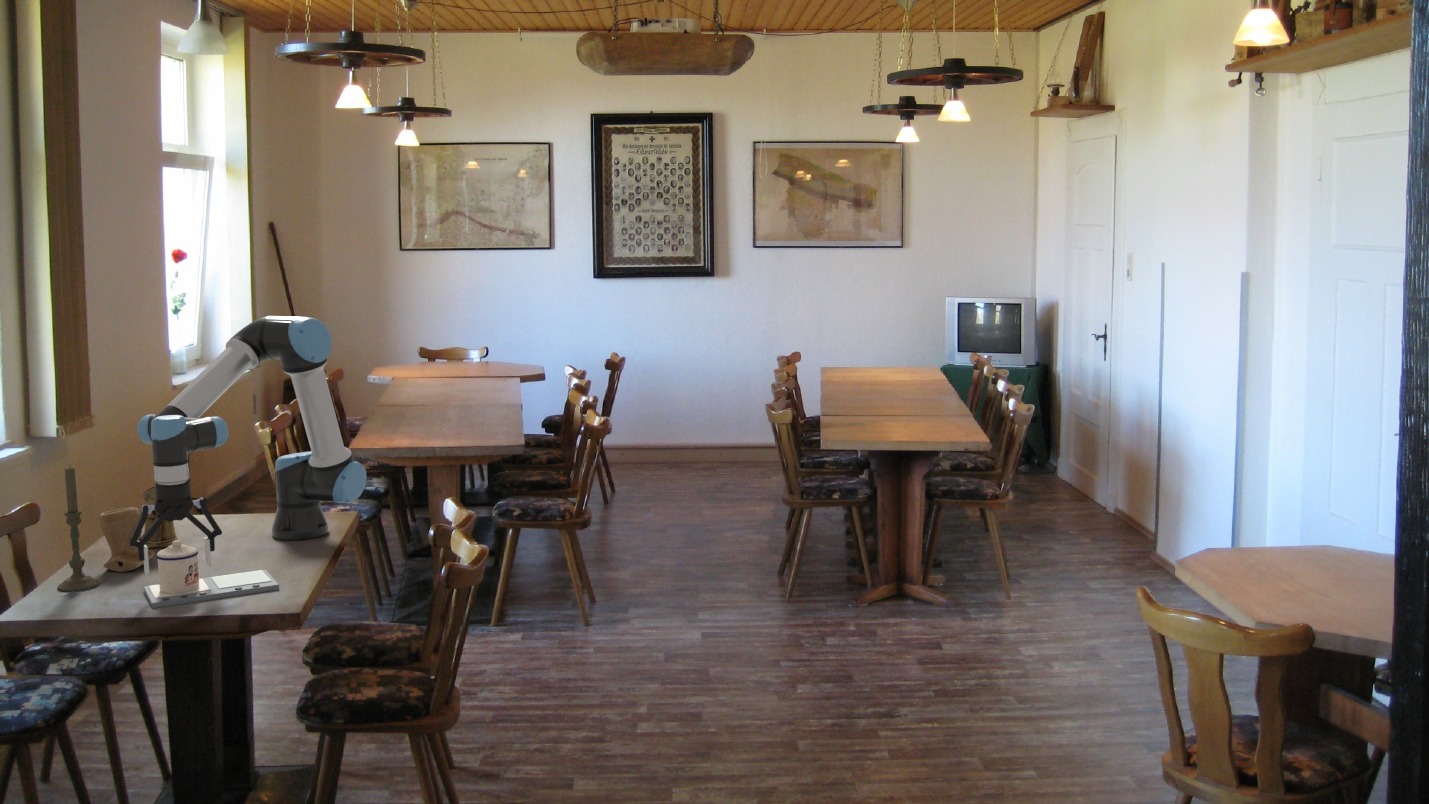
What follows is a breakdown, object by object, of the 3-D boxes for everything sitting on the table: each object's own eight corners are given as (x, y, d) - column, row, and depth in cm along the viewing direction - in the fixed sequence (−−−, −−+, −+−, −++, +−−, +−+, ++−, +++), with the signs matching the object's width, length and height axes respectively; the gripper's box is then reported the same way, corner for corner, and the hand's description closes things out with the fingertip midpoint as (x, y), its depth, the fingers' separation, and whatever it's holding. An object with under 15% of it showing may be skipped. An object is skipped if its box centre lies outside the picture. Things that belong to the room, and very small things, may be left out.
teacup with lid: (193, 594, 288) (189, 545, 286) (152, 595, 287) (149, 546, 286) (209, 579, 300) (206, 532, 298) (170, 580, 299) (167, 533, 297)
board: (265, 574, 309) (265, 568, 309) (279, 589, 297) (278, 583, 296) (144, 591, 295) (143, 585, 295) (152, 608, 282) (152, 602, 282)
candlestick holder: (102, 587, 298) (93, 466, 294) (60, 594, 293) (50, 470, 288) (96, 578, 305) (87, 460, 301) (54, 585, 300) (45, 464, 296)
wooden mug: (139, 554, 328) (135, 488, 325) (143, 542, 341) (139, 478, 338) (176, 551, 331) (171, 485, 328) (178, 539, 344) (174, 476, 341)
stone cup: (113, 558, 324) (109, 502, 322) (160, 557, 325) (156, 501, 323) (90, 574, 309) (86, 516, 307) (140, 573, 310) (135, 515, 308)
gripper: (225, 473, 299) (230, 557, 302) (111, 484, 286) (118, 573, 289) (231, 478, 293) (236, 565, 296) (115, 490, 280) (122, 581, 283)
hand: (178, 569), depth 293 cm, fingers open, 13 cm apart
